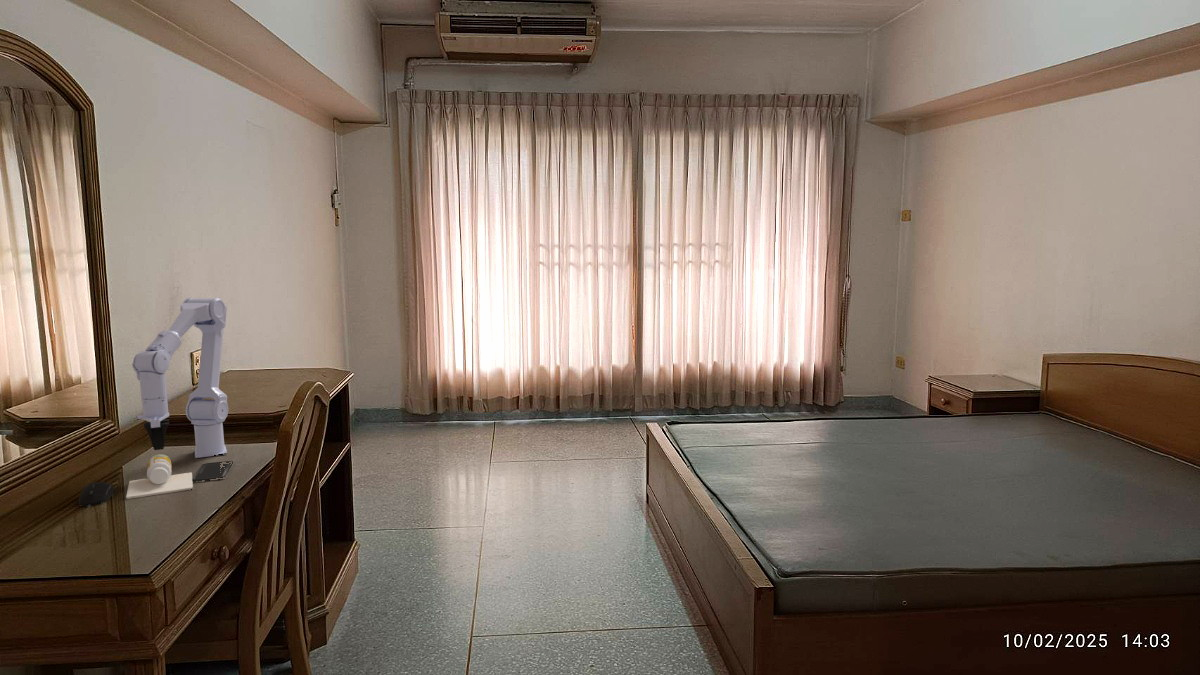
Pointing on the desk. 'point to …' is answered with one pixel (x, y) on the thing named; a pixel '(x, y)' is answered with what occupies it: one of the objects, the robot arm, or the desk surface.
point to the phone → (212, 471)
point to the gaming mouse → (95, 493)
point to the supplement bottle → (159, 469)
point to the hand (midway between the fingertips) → (159, 449)
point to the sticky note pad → (159, 486)
